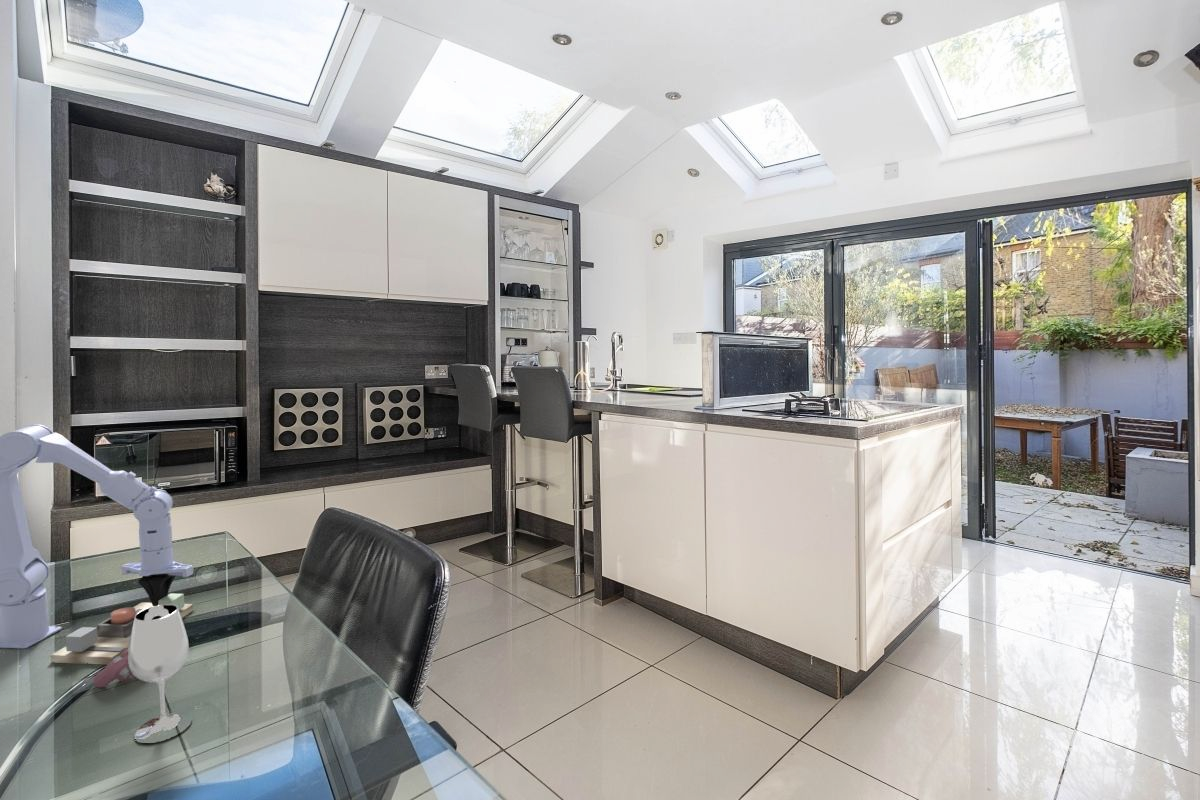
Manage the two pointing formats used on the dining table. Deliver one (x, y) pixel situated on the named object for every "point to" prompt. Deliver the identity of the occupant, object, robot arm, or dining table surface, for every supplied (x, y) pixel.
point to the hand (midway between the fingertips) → (159, 605)
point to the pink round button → (123, 615)
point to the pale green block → (173, 600)
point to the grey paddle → (81, 639)
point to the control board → (107, 641)
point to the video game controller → (114, 671)
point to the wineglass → (157, 657)
